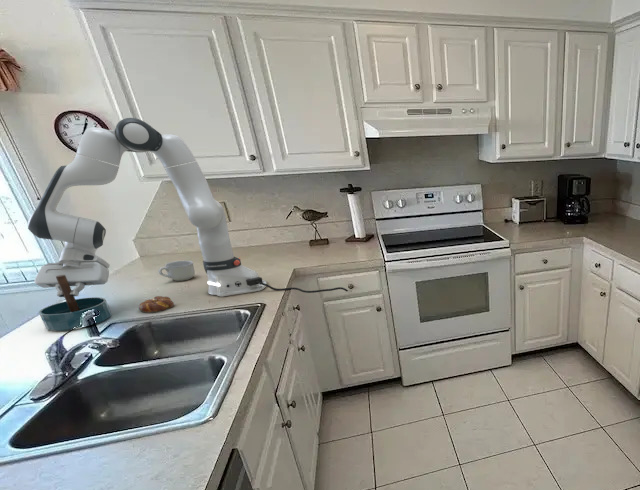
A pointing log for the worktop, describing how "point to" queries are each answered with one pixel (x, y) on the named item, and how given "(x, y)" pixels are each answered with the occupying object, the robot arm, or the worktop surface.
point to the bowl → (73, 313)
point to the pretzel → (156, 304)
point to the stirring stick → (67, 293)
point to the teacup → (178, 270)
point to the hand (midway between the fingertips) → (67, 296)
